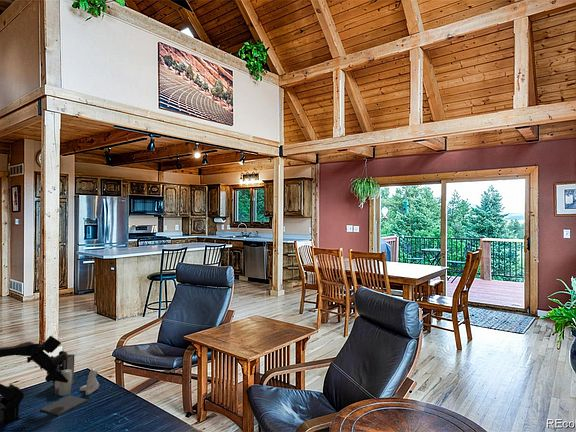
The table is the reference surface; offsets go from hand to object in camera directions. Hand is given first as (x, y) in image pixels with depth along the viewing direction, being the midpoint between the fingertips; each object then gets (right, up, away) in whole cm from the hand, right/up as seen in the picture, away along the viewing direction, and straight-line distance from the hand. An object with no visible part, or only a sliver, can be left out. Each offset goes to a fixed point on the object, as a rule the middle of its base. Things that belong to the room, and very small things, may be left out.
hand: (68, 379), depth 188 cm
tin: (-12, -13, +14) cm, 23 cm away
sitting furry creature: (+2, -14, +17) cm, 22 cm away
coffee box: (-18, -14, +25) cm, 34 cm away
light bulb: (-1, -7, -1) cm, 7 cm away
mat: (-1, -13, -1) cm, 13 cm away
